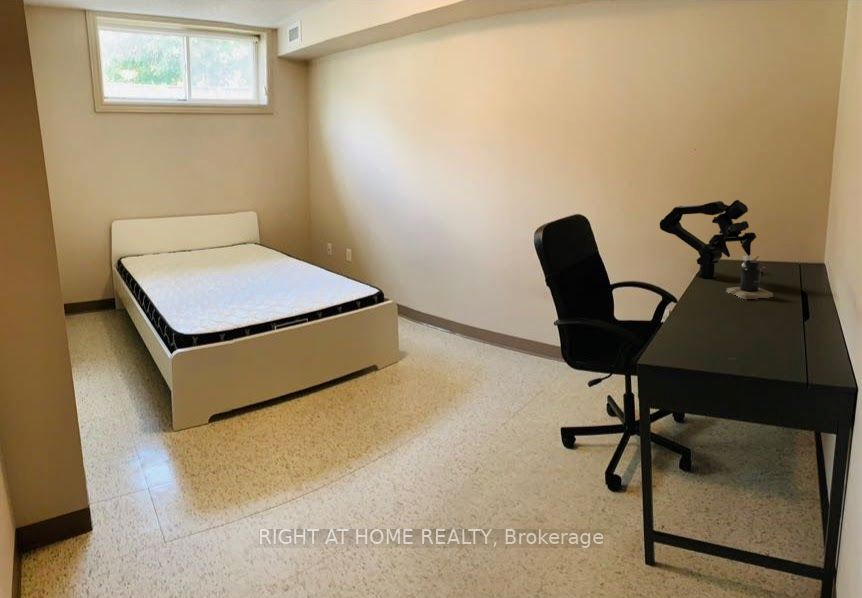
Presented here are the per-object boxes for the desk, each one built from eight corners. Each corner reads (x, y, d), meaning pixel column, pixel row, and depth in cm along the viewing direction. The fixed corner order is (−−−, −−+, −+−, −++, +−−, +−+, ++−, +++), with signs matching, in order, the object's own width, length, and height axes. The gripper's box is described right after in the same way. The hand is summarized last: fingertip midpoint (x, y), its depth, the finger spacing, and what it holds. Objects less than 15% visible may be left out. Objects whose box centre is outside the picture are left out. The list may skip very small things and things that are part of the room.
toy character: (757, 282, 278) (735, 271, 276) (752, 272, 284) (731, 261, 283) (773, 266, 271) (751, 255, 270) (768, 256, 278) (746, 245, 277)
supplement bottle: (758, 293, 239) (761, 263, 236) (739, 291, 243) (742, 262, 239) (758, 288, 245) (762, 260, 242) (740, 287, 248) (743, 258, 245)
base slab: (726, 292, 249) (726, 287, 249) (752, 290, 251) (753, 285, 250) (745, 300, 238) (745, 295, 237) (772, 298, 239) (773, 292, 239)
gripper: (715, 215, 252) (728, 246, 245) (756, 213, 254) (770, 244, 247) (703, 231, 262) (715, 261, 254) (742, 228, 264) (755, 258, 257)
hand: (739, 255), depth 253 cm, fingers open, 9 cm apart
